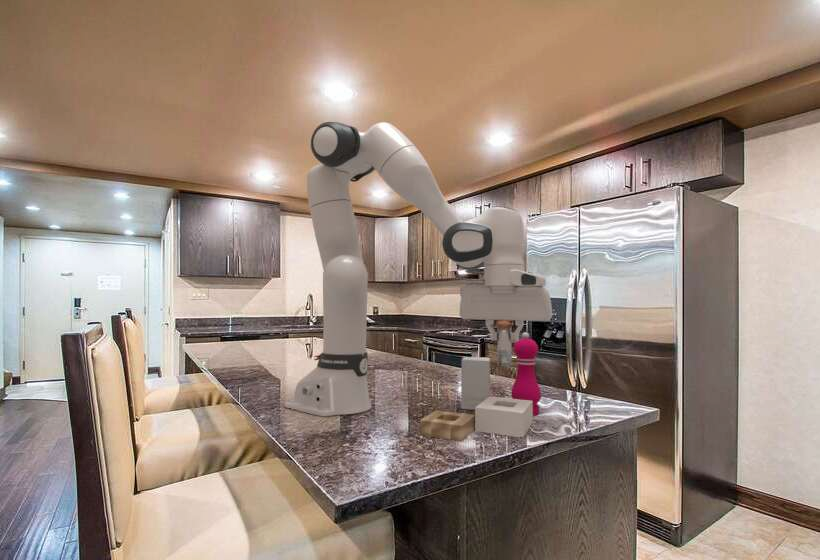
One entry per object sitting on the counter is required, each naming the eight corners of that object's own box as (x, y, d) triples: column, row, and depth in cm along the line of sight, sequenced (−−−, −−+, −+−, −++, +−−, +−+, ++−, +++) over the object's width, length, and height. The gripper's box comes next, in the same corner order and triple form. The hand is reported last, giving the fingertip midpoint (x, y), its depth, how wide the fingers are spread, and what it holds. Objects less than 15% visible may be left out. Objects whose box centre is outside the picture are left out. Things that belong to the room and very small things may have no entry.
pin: (494, 366, 93) (493, 320, 94) (498, 363, 97) (497, 320, 97) (511, 367, 92) (511, 321, 92) (514, 365, 95) (514, 320, 96)
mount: (420, 434, 87) (420, 420, 88) (436, 423, 96) (436, 410, 96) (461, 441, 84) (462, 425, 84) (475, 429, 92) (474, 415, 92)
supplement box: (489, 411, 107) (489, 360, 108) (460, 409, 109) (460, 359, 110) (490, 404, 115) (490, 357, 115) (462, 402, 116) (462, 356, 117)
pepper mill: (517, 407, 111) (517, 330, 112) (545, 411, 107) (544, 332, 108) (506, 413, 105) (506, 332, 106) (535, 417, 101) (534, 333, 102)
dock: (475, 431, 90) (475, 407, 90) (489, 417, 101) (489, 396, 101) (523, 437, 86) (522, 412, 86) (532, 422, 97) (532, 400, 97)
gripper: (455, 279, 97) (455, 339, 96) (549, 277, 88) (549, 344, 87) (464, 280, 102) (464, 337, 102) (552, 278, 94) (553, 341, 93)
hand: (504, 340), depth 94 cm, fingers closed on pin, 3 cm apart
